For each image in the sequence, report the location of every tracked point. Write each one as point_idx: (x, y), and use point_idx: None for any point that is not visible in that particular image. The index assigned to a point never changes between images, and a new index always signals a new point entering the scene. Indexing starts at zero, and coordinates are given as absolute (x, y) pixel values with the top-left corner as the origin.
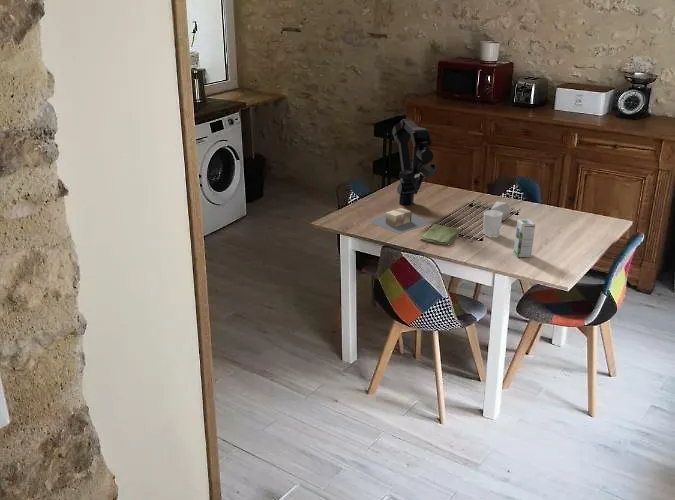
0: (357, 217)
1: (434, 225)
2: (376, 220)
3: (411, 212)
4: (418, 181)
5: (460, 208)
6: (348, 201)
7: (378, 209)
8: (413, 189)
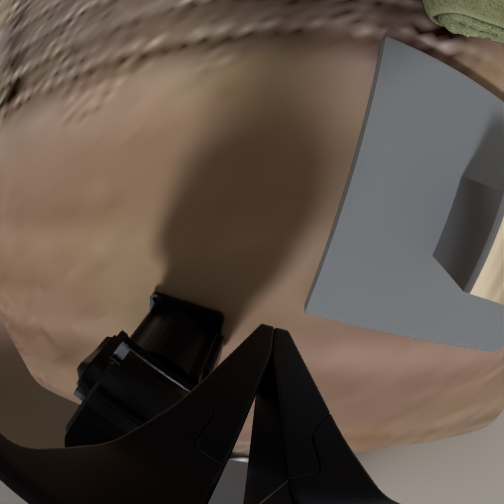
0: (439, 400)
1: (473, 11)
2: (489, 333)
3: (498, 190)
4: (319, 467)
5: (50, 90)
6: None
7: None
8: (148, 372)
